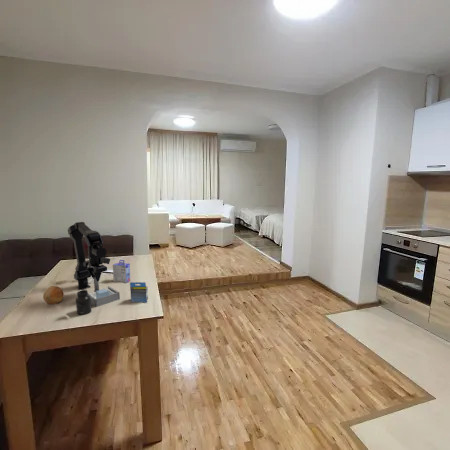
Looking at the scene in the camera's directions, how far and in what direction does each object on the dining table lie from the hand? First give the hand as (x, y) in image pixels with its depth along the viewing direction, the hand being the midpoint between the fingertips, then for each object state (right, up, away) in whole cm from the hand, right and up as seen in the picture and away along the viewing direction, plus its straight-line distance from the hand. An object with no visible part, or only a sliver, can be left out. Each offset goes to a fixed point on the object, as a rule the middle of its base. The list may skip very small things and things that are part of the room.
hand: (96, 280), depth 162 cm
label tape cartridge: (+26, -12, -4) cm, 29 cm away
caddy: (+4, -11, -2) cm, 12 cm away
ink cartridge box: (+6, -6, +26) cm, 28 cm away
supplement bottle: (+2, -14, -18) cm, 23 cm away
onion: (-20, -12, -7) cm, 24 cm away
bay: (+5, -11, -3) cm, 13 cm away
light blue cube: (+5, -10, -3) cm, 12 cm away
